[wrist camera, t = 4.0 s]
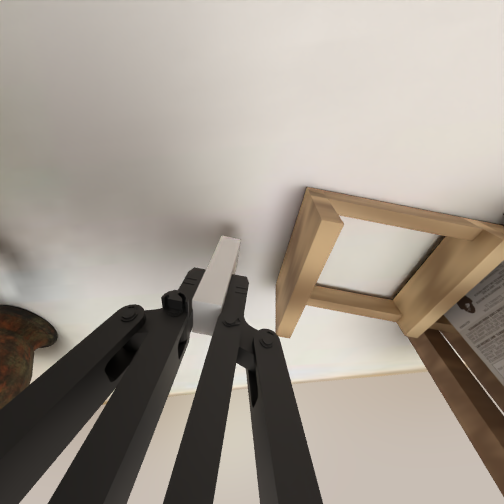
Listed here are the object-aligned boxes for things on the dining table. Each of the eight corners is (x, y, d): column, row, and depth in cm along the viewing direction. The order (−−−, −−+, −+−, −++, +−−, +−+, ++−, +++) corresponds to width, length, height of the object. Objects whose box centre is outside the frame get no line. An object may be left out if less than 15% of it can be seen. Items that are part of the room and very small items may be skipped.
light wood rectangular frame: (306, 187, 15) (321, 219, 10) (630, 250, 16) (793, 311, 11) (275, 285, 21) (275, 335, 16) (510, 330, 22) (579, 392, 17)
